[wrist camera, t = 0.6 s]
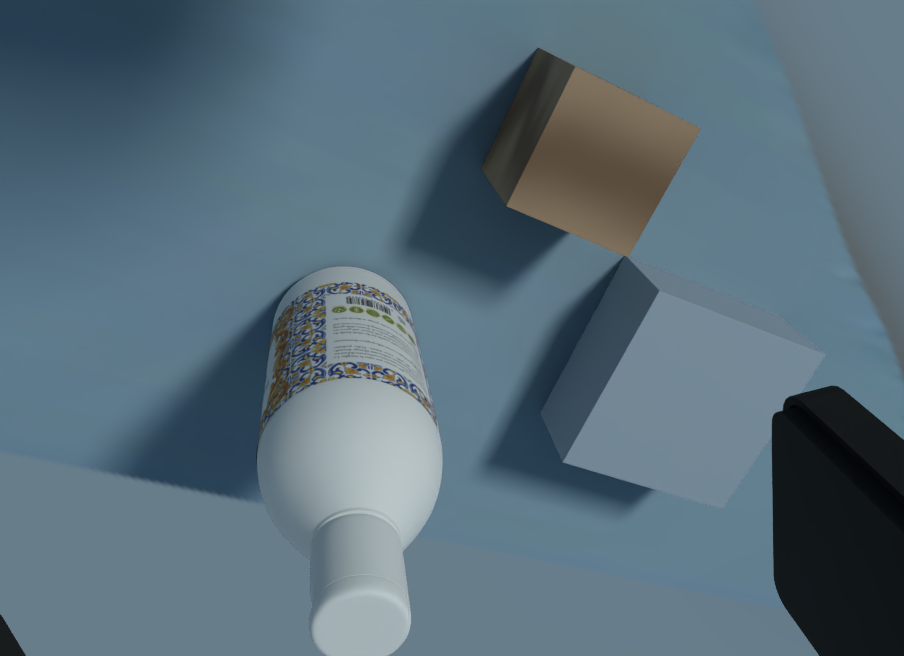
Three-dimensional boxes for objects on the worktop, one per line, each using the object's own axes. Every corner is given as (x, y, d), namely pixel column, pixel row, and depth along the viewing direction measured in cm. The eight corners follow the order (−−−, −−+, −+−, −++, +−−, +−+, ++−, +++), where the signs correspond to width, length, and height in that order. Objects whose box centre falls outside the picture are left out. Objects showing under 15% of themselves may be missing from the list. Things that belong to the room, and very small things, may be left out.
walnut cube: (537, 47, 36) (575, 66, 31) (647, 101, 38) (700, 128, 33) (480, 168, 38) (506, 206, 33) (587, 214, 40) (628, 257, 35)
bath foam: (268, 263, 39) (225, 541, 21) (412, 261, 40) (488, 525, 22) (276, 388, 42) (244, 725, 24) (410, 383, 43) (474, 703, 25)
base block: (623, 253, 41) (659, 290, 37) (775, 313, 44) (826, 354, 40) (538, 410, 45) (562, 462, 40) (685, 456, 48) (722, 509, 43)
